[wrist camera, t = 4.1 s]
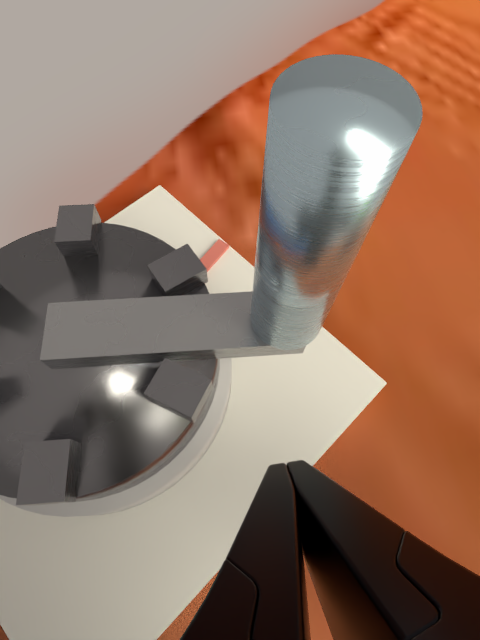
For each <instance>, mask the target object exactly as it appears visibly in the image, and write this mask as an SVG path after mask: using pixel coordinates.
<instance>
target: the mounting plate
mask: <svg viewBox="0 0 480 640" xmlns="http://www.w3.org/2000/svg"><path fill="white" fill-rule="evenodd" d="M104 223H109V224H118V225H122V226H127V227H131V228H135V229H138V230H140V231H143V232H146V233H149V234H151V235H153V236H155V237H157V238H159V239H161V240H163V241H164V242H166V243H167V244H169V245H170V246H172V247H173V248H175V249H178V248H180V247H182V246H184V245H186V244H188V245H189V246H190V247H191V249H192V250H193V251H194V253H195V254H196V255H197V257H198V258H199V259H200V261H201V262H202V263H203V265H204V266H205V267H206V269H207V278H208V282H207V283H205V285H206V287H207V289H208V292H209V294H215V293H233V292H251V291H253V280H254V269H255V268H254V267H253V266H252V265H251V264H250V263H249V262H248V261H246V260H245V259H244V258H243V257H242V256H241V255H239V254H238V253H237V252H236V251H235V250H234V249H233V248H231V247H230V246H229V245H228V244H227V243H226V242H225V241H223V240H222V239H221V238H220V237H219V236H218V235H217V234H215V233H214V232H213V231H212V230H211V229H210V228H208V227H207V226H206V225H205V224H204V223H203V222H202V221H200V220H199V219H198V218H197V217H196V216H195V215H194V214H192V213H191V212H190V211H189V210H188V209H187V208H186V207H184V206H183V205H182V204H181V203H180V202H179V201H178V200H176V199H175V198H174V197H173V196H172V195H171V194H169V193H168V192H167V191H166V190H165V189H164V188H163V187H161V186H160V185H159V186H158V187H156V188H155V189H153V190H152V191H150V192H149V193H147V194H146V195H144V196H143V197H141V198H140V199H138V200H137V201H135V202H134V203H132V204H131V205H130V206H128V207H127V208H125V209H124V210H122V211H121V212H119V213H118V214H116V215H115V216H113V217H112V218H110V219H109V220H107V221H106V222H104ZM386 384H387V383H386V382H385V381H384V380H383V379H382V378H381V377H379V376H378V375H377V374H376V373H375V372H374V371H373V370H371V369H370V368H369V367H368V366H367V365H366V364H365V363H363V362H362V361H361V360H360V359H359V358H358V357H357V356H355V355H354V354H353V353H352V352H351V351H350V350H348V349H347V348H346V347H345V346H344V345H343V344H342V343H340V342H339V341H338V340H337V339H336V338H335V337H334V336H332V335H331V334H330V333H329V332H328V331H327V330H326V329H324V328H323V327H321V329H320V331H319V333H318V335H317V336H316V338H315V339H314V340H313V341H312V342H311V343H309V344H308V345H306V347H305V349H304V351H303V353H300V354H284V355H269V356H253V357H237V358H222V359H220V371H219V377H218V384H217V388H216V392H215V395H214V398H213V402H212V404H211V406H210V409H209V411H208V413H207V415H206V418H205V420H204V421H203V423H202V425H201V426H200V428H199V430H198V431H197V433H196V434H195V436H194V437H193V438H192V439H191V441H190V442H189V443H188V445H187V446H186V447H185V448H184V449H183V450H182V451H181V452H180V453H179V454H178V455H177V456H176V457H175V458H174V459H173V460H172V461H171V462H170V463H169V464H168V465H167V466H165V467H164V468H163V469H161V470H160V471H159V472H158V473H156V474H155V475H153V476H152V477H150V478H148V479H147V480H145V481H143V482H142V483H140V484H138V485H136V486H134V487H132V488H129V489H127V490H125V491H122V492H120V493H117V494H114V495H110V496H107V497H103V498H100V499H94V500H87V501H80V502H70V503H57V504H45V505H32V506H27V505H16V500H17V498H9V497H6V496H3V495H0V625H1V626H2V628H3V630H4V632H5V633H6V635H7V637H8V638H9V640H157V639H158V637H159V636H160V635H161V634H162V633H163V632H164V631H165V630H166V629H167V627H168V626H169V625H170V624H171V623H172V622H173V621H174V620H175V619H176V617H177V616H178V615H179V614H180V613H181V612H182V611H183V610H184V609H185V607H186V606H187V605H188V604H189V603H190V602H191V601H192V600H193V599H194V597H195V596H196V595H197V594H198V593H199V592H200V591H201V590H202V589H203V587H204V586H205V585H206V584H207V583H208V582H209V581H210V580H211V579H212V577H213V576H214V575H215V574H216V573H217V572H218V571H219V570H220V568H221V566H222V564H223V562H224V560H226V557H227V555H228V552H229V550H230V548H231V546H232V544H233V542H234V539H235V537H236V535H237V533H238V531H239V529H240V526H241V524H242V522H243V520H244V518H245V516H246V514H247V511H248V509H249V507H250V505H251V503H252V501H253V498H254V496H255V494H256V492H257V490H258V488H259V486H260V483H261V481H262V479H263V477H264V475H265V473H266V470H267V468H268V466H269V465H272V464H278V463H285V464H286V465H287V463H288V462H291V461H297V460H304V461H306V462H307V463H308V464H310V465H311V466H313V465H314V464H315V463H316V462H317V461H318V459H319V458H320V457H321V456H322V455H323V454H324V453H325V452H326V451H327V449H328V448H329V447H330V446H331V445H332V444H333V443H334V442H335V441H336V439H337V438H338V437H339V436H340V435H341V434H342V433H343V432H344V430H345V429H346V428H347V427H348V426H349V425H350V424H351V423H352V422H353V420H354V419H355V418H356V417H357V416H358V415H359V414H360V413H361V412H362V410H363V409H364V408H365V407H366V406H367V405H368V404H369V403H370V402H371V400H372V399H373V398H374V397H375V396H376V395H377V394H378V393H379V392H380V390H381V389H382V388H383V387H384V386H385V385H386Z"/></svg>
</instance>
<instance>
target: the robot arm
mask: <svg viewBox="0 0 480 640" xmlns="http://www.w3.org/2000/svg"><path fill="white" fill-rule="evenodd" d="M303 555H304V558H305V562H306V565H307V568H308V570H309V573H310V576H311V579H312V581H313V584H314V587H315V590H316V592H317V595H318V598H319V601H320V604H321V606H322V609H323V612H324V615H325V617H326V620H327V623H328V626H329V628H330V631H331V634H332V637H333V639H334V640H480V576H479V575H477V574H475V573H473V572H472V571H470V570H468V569H466V568H465V567H463V566H461V565H460V564H458V563H456V562H455V561H453V560H451V559H449V558H448V557H446V556H444V555H443V554H441V553H440V552H438V551H437V550H435V549H434V548H432V547H431V546H429V545H428V544H426V543H424V542H423V541H421V540H420V539H418V538H417V537H416V536H414V535H413V534H411V533H410V532H408V531H405V530H404V529H403V528H401V527H400V526H399V525H397V524H396V523H394V522H393V521H391V520H390V519H388V518H387V517H385V516H384V515H383V514H381V513H380V512H378V511H377V510H375V509H374V508H372V507H371V506H369V505H368V504H367V503H365V502H364V501H362V500H361V499H359V498H358V497H356V496H355V495H354V494H352V493H351V492H349V491H348V490H346V489H345V488H343V487H342V486H340V485H339V484H338V483H336V482H335V481H333V480H332V479H330V478H329V477H327V476H326V475H324V474H323V473H322V472H320V471H319V470H317V469H316V468H314V467H313V466H311V465H310V464H308V463H307V462H306V461H304V460H297V461H291V462H288V463H287V465H286V464H285V463H278V464H272V465H269V466H268V468H267V470H266V473H265V475H264V477H263V479H262V481H261V483H260V486H259V488H258V490H257V492H256V494H255V496H254V498H253V501H252V503H251V505H250V507H249V509H248V511H247V514H246V516H245V518H244V520H243V522H242V524H241V526H240V529H239V531H238V533H237V535H236V537H235V539H234V542H233V544H232V546H231V548H230V550H229V552H228V555H227V557H226V560H224V562H223V564H222V566H221V568H220V571H219V573H218V575H217V577H216V579H215V581H214V583H213V585H212V587H211V589H210V591H209V592H208V594H207V596H206V598H205V600H204V601H203V603H202V605H201V606H200V608H199V610H198V611H197V613H196V615H195V616H194V618H193V620H192V621H191V623H190V624H189V626H188V628H187V629H186V631H185V632H184V634H183V635H182V637H181V639H180V640H311V637H310V626H309V615H308V603H307V592H306V581H305V569H304V560H303Z"/></svg>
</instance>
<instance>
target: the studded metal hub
mask: <svg viewBox="0 0 480 640" xmlns="http://www.w3.org/2000/svg"><path fill="white" fill-rule="evenodd" d="M421 121H422V105H421V102H420V99H419V97H418V95H417V93H416V91H415V90H414V88H413V87H412V86H411V85H410V84H409V82H408V81H407V80H405V79H404V78H403V77H402V76H401V75H400V74H398V73H397V72H395V71H394V70H392V69H390V68H388V67H387V66H385V65H382V64H380V63H378V62H375V61H372V60H369V59H366V58H362V57H357V56H351V55H322V56H316V57H312V58H308V59H305V60H302V61H300V62H298V63H296V64H294V65H292V66H290V67H289V68H287V69H286V70H285V71H284V72H283V73H281V74H280V76H279V77H278V78H277V79H276V81H275V83H274V84H273V87H272V90H271V94H270V102H269V113H268V125H267V136H266V147H265V158H264V169H263V180H262V191H261V202H260V213H259V225H258V236H257V247H256V258H255V269H254V280H253V291H251V292H233V293H215V294H209V292H208V289H207V287H206V285H205V283H207V282H208V278H207V269H206V267H205V266H204V265H203V263H202V262H201V261H200V259H199V258H198V257H197V255H196V254H195V253H194V251H193V250H192V249H191V247H190V246H189V245H188V244H186V245H184V246H182V247H180V248H178V249H175V248H173V247H172V246H170V245H169V244H167V243H166V242H164V241H163V240H161V239H159V238H157V237H155V236H153V235H151V234H149V233H146V232H143V231H140V230H138V229H135V228H131V227H127V226H122V225H118V224H109V223H101V218H100V216H99V214H98V212H97V210H96V208H95V205H94V204H92V205H91V204H90V205H68V206H59V212H58V219H57V226H56V227H52V228H48V229H45V230H42V231H38V232H35V233H32V234H30V235H27V236H25V237H22V238H20V239H18V240H16V241H14V242H12V243H10V244H8V245H6V246H4V247H2V248H1V249H0V495H3V496H6V497H9V498H17V500H16V505H27V506H32V505H45V504H57V503H70V502H80V501H87V500H94V499H100V498H103V497H107V496H110V495H114V494H117V493H120V492H122V491H125V490H127V489H129V488H132V487H134V486H136V485H138V484H140V483H142V482H143V481H145V480H147V479H148V478H150V477H152V476H153V475H155V474H156V473H158V472H159V471H160V470H161V469H163V468H164V467H165V466H167V465H168V464H169V463H170V462H171V461H172V460H173V459H174V458H175V457H176V456H177V455H178V454H179V453H180V452H181V451H182V450H183V449H184V448H185V447H186V446H187V445H188V443H189V442H190V441H191V439H192V438H193V437H194V436H195V434H196V433H197V431H198V430H199V428H200V426H201V425H202V423H203V421H204V420H205V418H206V415H207V413H208V411H209V409H210V406H211V404H212V402H213V398H214V395H215V392H216V388H217V384H218V377H219V371H220V359H222V358H237V357H253V356H269V355H284V354H300V353H303V351H304V349H305V347H306V345H308V344H309V343H311V342H312V341H313V340H314V339H315V338H316V336H317V335H318V333H319V331H320V329H321V327H322V325H323V323H324V321H325V319H326V317H327V315H328V313H329V311H330V309H331V307H332V305H333V303H334V301H335V299H336V297H337V295H338V293H339V291H340V289H341V287H342V284H343V282H344V280H345V278H346V276H347V274H348V272H349V270H350V268H351V266H352V264H353V262H354V260H355V258H356V256H357V254H358V252H359V250H360V248H361V246H362V244H363V242H364V239H365V237H366V235H367V233H368V231H369V229H370V227H371V225H372V223H373V221H374V219H375V217H376V215H377V213H378V211H379V209H380V207H381V205H382V203H383V201H384V199H385V197H386V195H387V192H388V190H389V188H390V186H391V184H392V182H393V180H394V178H395V176H396V174H397V172H398V170H399V168H400V166H401V164H402V162H403V160H404V158H405V156H406V154H407V152H408V150H409V147H410V145H411V143H412V141H413V139H414V137H415V135H416V133H417V131H418V129H419V127H420V124H421Z"/></svg>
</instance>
